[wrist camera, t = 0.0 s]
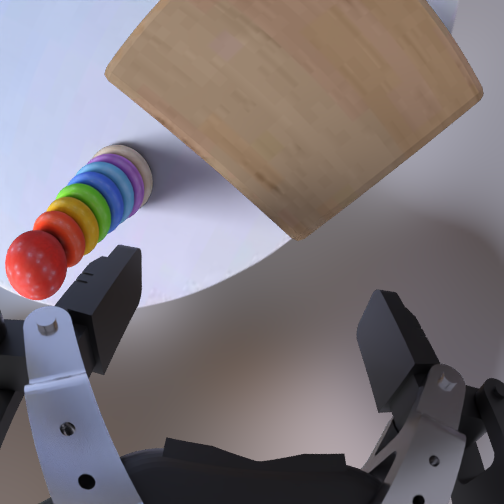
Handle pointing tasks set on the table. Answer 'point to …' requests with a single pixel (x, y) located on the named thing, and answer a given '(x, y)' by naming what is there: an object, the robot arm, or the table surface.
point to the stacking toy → (78, 220)
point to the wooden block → (298, 93)
